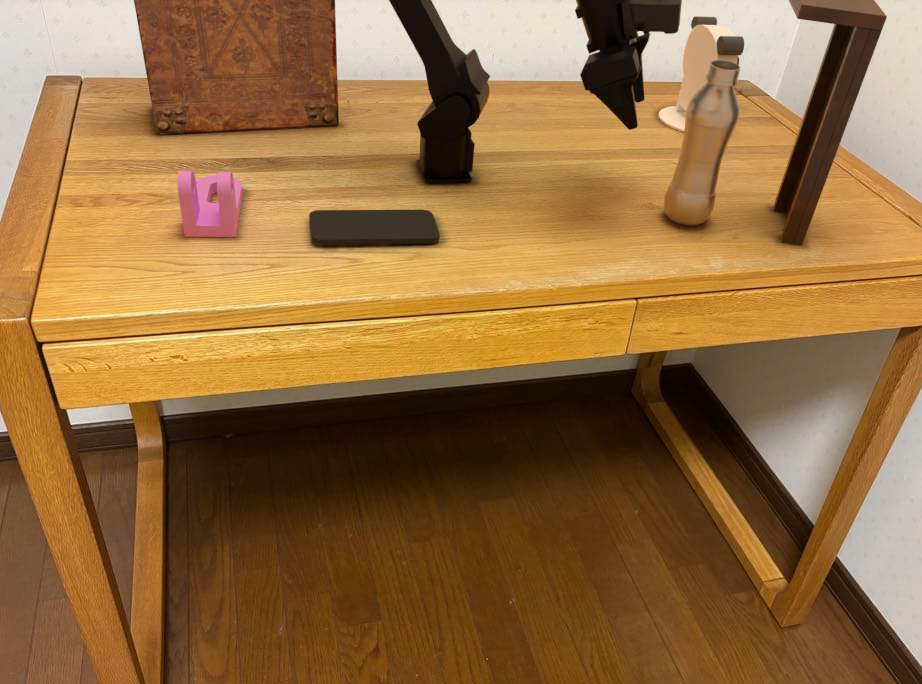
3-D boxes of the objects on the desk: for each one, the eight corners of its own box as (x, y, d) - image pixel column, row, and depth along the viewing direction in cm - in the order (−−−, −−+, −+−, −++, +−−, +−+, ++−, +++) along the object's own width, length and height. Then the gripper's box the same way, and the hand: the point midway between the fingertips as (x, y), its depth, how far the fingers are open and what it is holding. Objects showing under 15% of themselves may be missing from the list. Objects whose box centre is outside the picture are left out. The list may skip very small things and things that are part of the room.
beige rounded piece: (740, 136, 136) (769, 39, 126) (676, 137, 133) (700, 38, 124) (708, 107, 145) (733, 15, 135) (648, 107, 142) (668, 13, 132)
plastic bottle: (714, 216, 113) (758, 63, 100) (702, 236, 108) (746, 79, 95) (668, 203, 115) (705, 51, 102) (654, 223, 110) (691, 66, 97)
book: (326, 102, 131) (318, -123, 111) (339, 126, 124) (333, -109, 105) (151, 109, 122) (111, -133, 103) (155, 135, 116) (113, -118, 97)
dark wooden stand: (730, 234, 109) (801, 4, 92) (725, 200, 117) (790, -18, 99) (802, 245, 109) (887, 16, 91) (792, 210, 117) (869, -7, 99)
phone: (441, 238, 100) (311, 240, 96) (440, 244, 100) (312, 246, 97) (431, 209, 105) (308, 209, 102) (431, 215, 106) (308, 215, 102)
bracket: (235, 237, 97) (229, 180, 93) (184, 236, 96) (176, 179, 92) (244, 186, 107) (238, 133, 103) (198, 185, 106) (191, 131, 102)
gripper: (660, -19, 87) (698, 123, 95) (672, -58, 101) (704, 69, 109) (560, 19, 92) (604, 151, 100) (584, -23, 106) (621, 96, 114)
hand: (637, 114), depth 106 cm, fingers open, 9 cm apart
